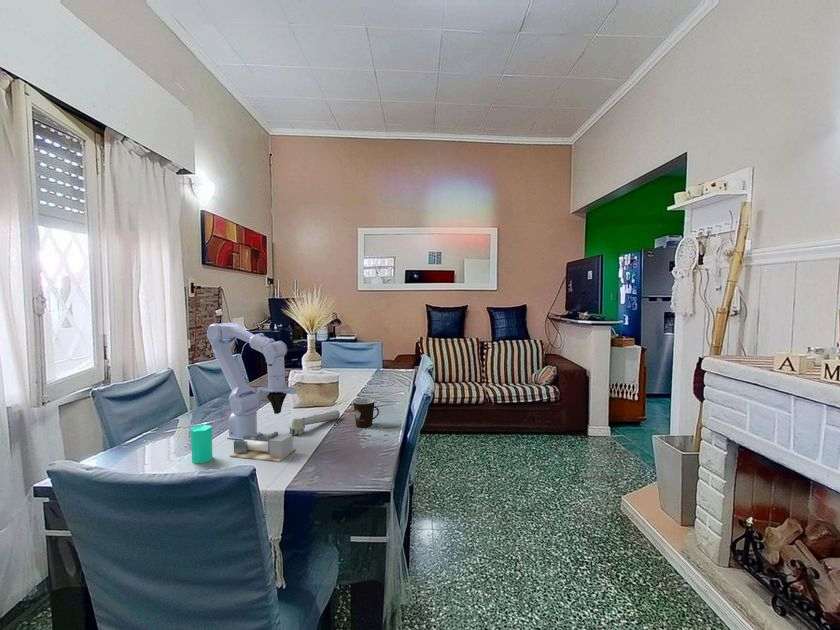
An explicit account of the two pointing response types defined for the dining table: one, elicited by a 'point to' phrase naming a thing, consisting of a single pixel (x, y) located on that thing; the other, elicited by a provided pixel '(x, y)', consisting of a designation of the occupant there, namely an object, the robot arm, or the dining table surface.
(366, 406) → the coffee mug
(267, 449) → the tube
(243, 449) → the grey parallel plates
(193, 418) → the dining table surface
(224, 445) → the dining table surface
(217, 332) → the robot arm
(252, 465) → the dining table surface
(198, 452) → the candle
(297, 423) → the grey capped rod
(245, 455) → the board
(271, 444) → the socket
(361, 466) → the dining table surface
